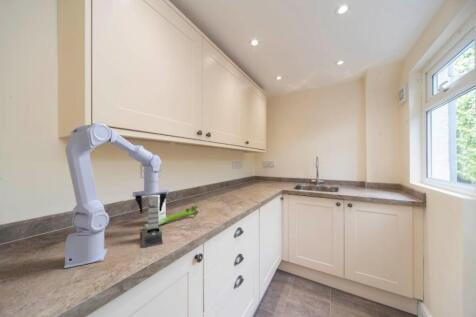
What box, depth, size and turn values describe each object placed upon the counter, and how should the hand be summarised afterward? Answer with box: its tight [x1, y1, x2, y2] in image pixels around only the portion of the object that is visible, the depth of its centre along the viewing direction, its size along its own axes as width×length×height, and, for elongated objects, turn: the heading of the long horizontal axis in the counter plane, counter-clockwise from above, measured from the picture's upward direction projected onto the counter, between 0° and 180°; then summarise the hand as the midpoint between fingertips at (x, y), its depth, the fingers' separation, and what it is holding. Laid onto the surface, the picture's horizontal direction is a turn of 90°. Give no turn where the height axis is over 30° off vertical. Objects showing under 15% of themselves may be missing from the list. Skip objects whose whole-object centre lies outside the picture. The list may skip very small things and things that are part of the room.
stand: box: [141, 226, 164, 249], centre depth 76 cm, size 7×17×4 cm, turn 28°
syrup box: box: [148, 195, 167, 220], centre depth 94 cm, size 6×6×14 cm
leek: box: [142, 205, 200, 229], centre depth 95 cm, size 6×7×30 cm
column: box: [147, 207, 160, 230], centre depth 75 cm, size 4×4×8 cm
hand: (151, 211), depth 82 cm, fingers open, 7 cm apart
